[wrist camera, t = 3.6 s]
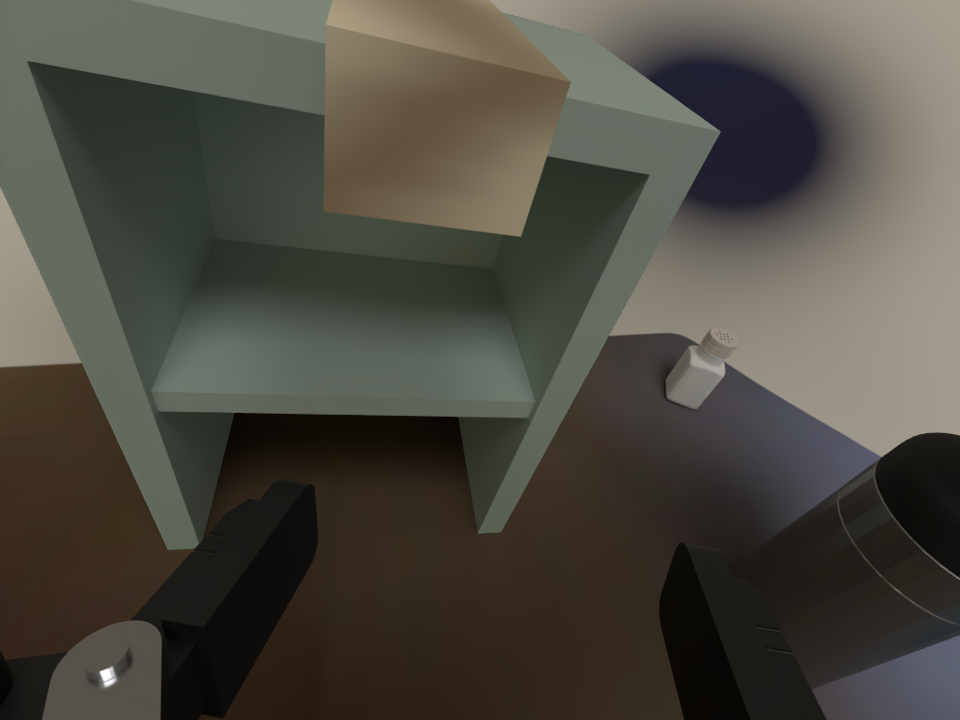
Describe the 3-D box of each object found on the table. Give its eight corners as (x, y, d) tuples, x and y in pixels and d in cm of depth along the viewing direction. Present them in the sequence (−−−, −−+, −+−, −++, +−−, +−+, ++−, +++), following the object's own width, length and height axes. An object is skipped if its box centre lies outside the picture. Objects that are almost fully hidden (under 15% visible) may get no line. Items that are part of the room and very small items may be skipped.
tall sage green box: (471, 387, 50) (585, 34, 29) (500, 532, 39) (720, 131, 18) (218, 379, 44) (126, -88, 22) (167, 549, 33) (-111, -54, 11)
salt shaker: (694, 390, 59) (739, 332, 53) (696, 412, 56) (744, 354, 50) (663, 379, 59) (705, 320, 53) (663, 400, 56) (708, 341, 50)
